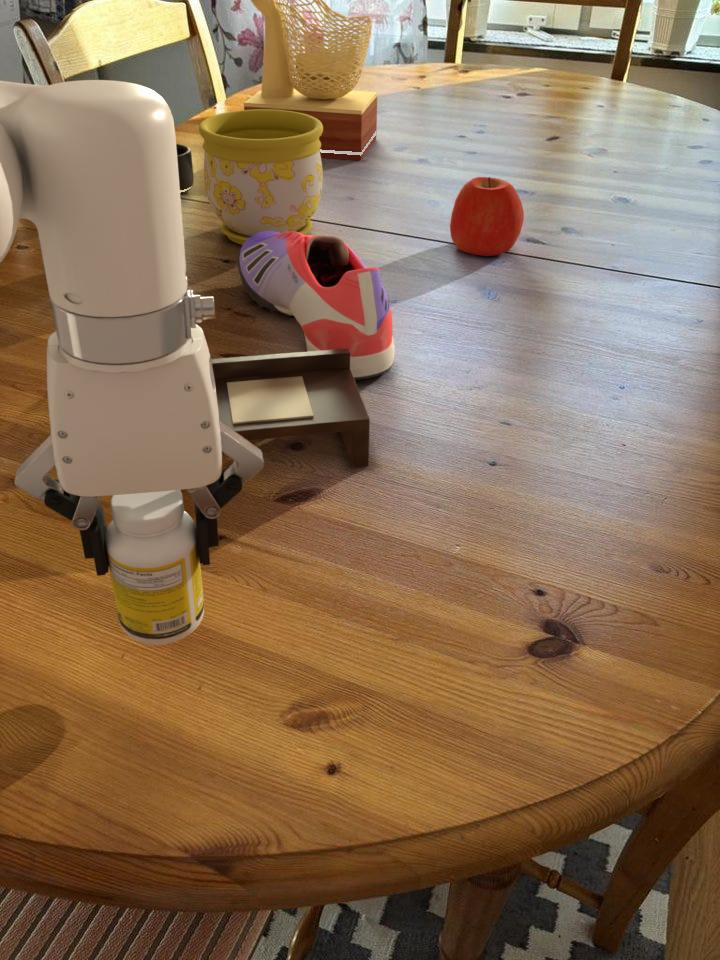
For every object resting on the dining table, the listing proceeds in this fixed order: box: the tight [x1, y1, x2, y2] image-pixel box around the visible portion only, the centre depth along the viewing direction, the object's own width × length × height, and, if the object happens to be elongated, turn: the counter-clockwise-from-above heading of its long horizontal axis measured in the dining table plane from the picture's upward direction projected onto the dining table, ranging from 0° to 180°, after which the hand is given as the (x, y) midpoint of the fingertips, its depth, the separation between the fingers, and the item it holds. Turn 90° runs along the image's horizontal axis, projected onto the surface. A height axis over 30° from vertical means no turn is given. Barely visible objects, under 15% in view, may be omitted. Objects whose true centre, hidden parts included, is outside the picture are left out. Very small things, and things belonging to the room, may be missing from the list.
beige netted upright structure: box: [243, 0, 378, 162], centre depth 166 cm, size 25×18×35 cm
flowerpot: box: [198, 109, 324, 246], centre depth 130 cm, size 18×18×16 cm
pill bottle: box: [105, 490, 205, 646], centre depth 60 cm, size 6×6×11 cm
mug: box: [176, 143, 195, 196], centre depth 147 cm, size 12×9×7 cm
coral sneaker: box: [237, 231, 396, 381], centre depth 106 cm, size 12×36×13 cm, turn 24°
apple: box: [449, 176, 525, 257], centre depth 128 cm, size 11×11×11 cm
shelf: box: [211, 348, 371, 468], centre depth 85 cm, size 18×11×7 cm, turn 101°
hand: (154, 555), depth 60 cm, fingers closed on pill bottle, 6 cm apart
